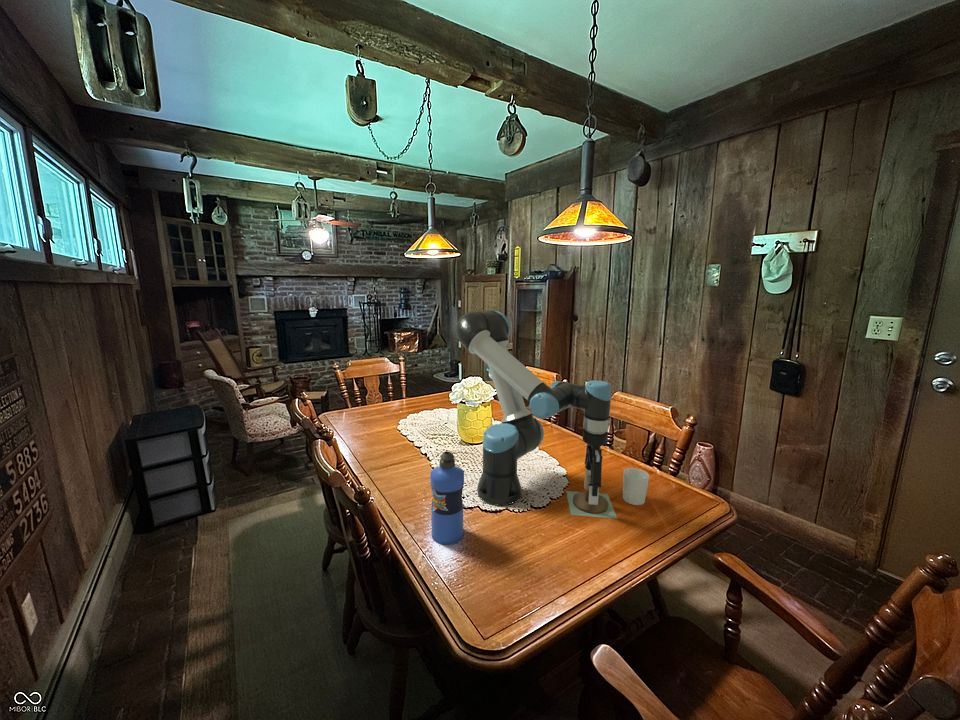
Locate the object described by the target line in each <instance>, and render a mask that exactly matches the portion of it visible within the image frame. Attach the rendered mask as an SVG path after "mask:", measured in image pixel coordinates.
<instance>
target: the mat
mask: <svg viewBox="0 0 960 720" xmlns="http://www.w3.org/2000/svg"><path fill="white" fill-rule="evenodd" d="M565 492H566V498H567V503H568V509H569V512H570V516H580V517H581V516H582V517H592V518H593V517H594V518H605V519H615V520H617V519H618V517H617V514H616V511H615V509H614V507H613V504H612V502H611V499H610V496H609V494H608V493H599V495H601V496H603V497H604V498H605V499H606V500H607V501H608V509H607V510H606V511H605V512H603V513H600V514H592V513H587V512H584V511H581V510H579V509H578V508H576V507H575V506H574V504H573V496H574V495H575V494H576V493H579V492H580V491H571V490H570V491H569V490H566V491H565Z"/></svg>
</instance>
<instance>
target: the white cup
mask: <svg viewBox="0 0 960 720" xmlns="http://www.w3.org/2000/svg"><path fill="white" fill-rule="evenodd" d="M622 479H623V480H622V498H623V500H624V501H625V502H626V503H627V504H631V505H634V506H642V505H644V504H645V502H646V497H647V491H648V487H649V486H648V485H649V480H650V474H649V473H648V472H647V471H645V470H643V469H640V468H636V467H627V468H625V469H623V477H622Z"/></svg>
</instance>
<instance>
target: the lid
mask: <svg viewBox="0 0 960 720" xmlns="http://www.w3.org/2000/svg"><path fill="white" fill-rule="evenodd" d="M588 484H591V475H589V476H587V483H586V489H585V491H578V492H579V493H576V494H575V495H574V496H573V504H574V506H575V507H576V508H578V509H579V510H581V511H584V512H587V513H592V514H600V513H603V512H605V511H606V510H607V509H608V501H607V500H606V499H605V498H604V497H603V496H601V495H599V496H598V505H593V504H589V490H590V486H589V485H588Z"/></svg>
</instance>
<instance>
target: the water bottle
mask: <svg viewBox="0 0 960 720" xmlns="http://www.w3.org/2000/svg"><path fill="white" fill-rule="evenodd" d="M439 458H440V459H439V466H437V467H433V469H432V470H431V471H430V475H429V476H430V478H429V479H430V480H429V481H430V482H429V483H430V487H431V494H432V501H431V509H430V511H431V513H430V515H431V516H430V517H431V538H432V540H433V542H435V543H436V544H439V545H444V546H449V545H454V544H456V543H459V542H460V541H461V540H462V539H463V537H464V503H463V492H464V491H463V490H464V485H465V471H464V470H463V468H462V467H460V466H457V465H456V459H455V455H454V454H453V452H451V451H448V450H446V451H444V452H443V453H441V455H440V456H439Z"/></svg>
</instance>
